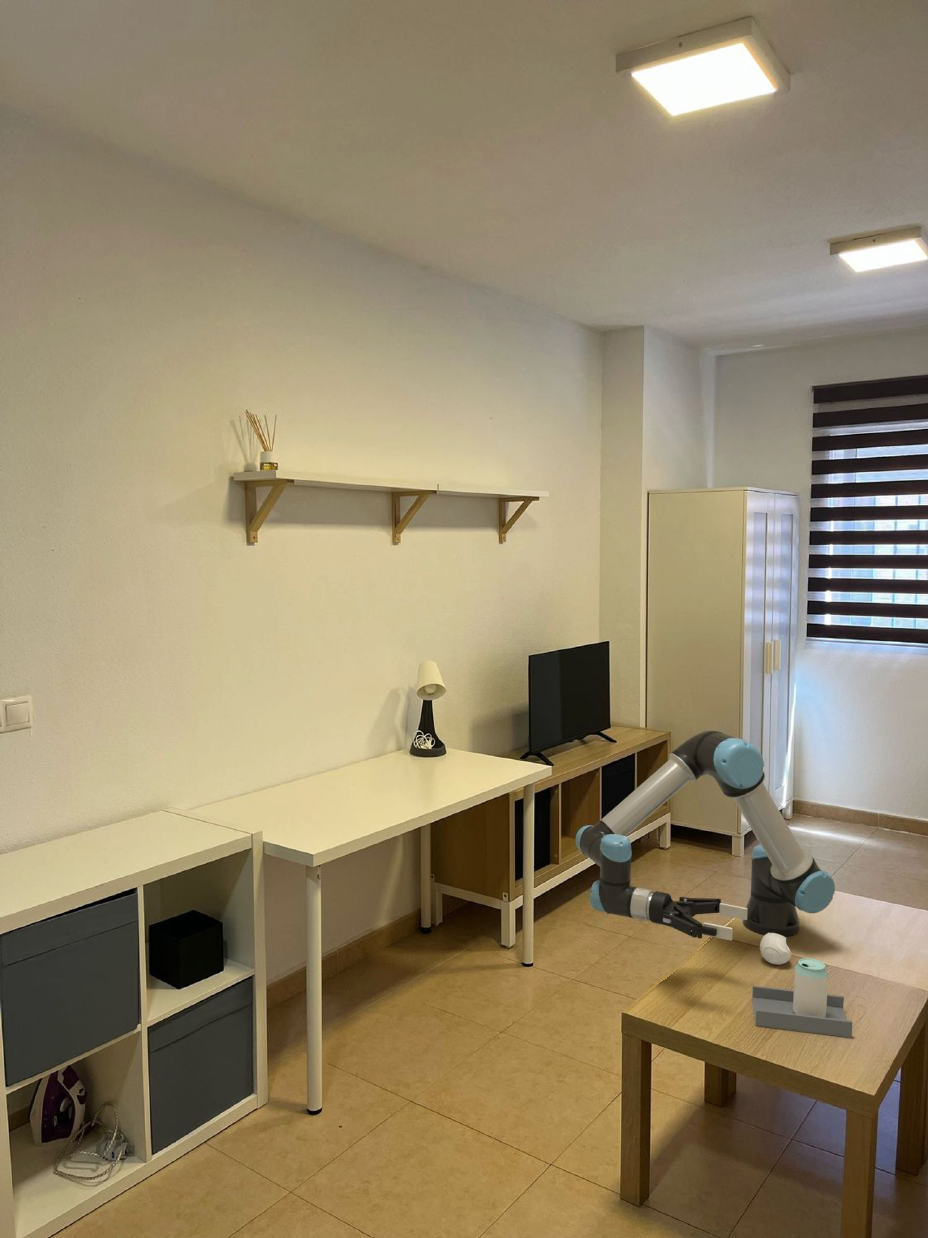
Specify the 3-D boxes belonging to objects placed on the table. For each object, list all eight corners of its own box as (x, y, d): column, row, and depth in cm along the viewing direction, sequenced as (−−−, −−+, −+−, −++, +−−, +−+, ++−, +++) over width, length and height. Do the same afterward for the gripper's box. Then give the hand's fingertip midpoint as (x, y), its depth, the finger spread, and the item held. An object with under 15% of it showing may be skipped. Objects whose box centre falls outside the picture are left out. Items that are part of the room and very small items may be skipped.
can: (817, 1026, 210) (820, 973, 209) (787, 1015, 215) (789, 963, 214) (831, 1015, 215) (833, 963, 214) (801, 1004, 220) (803, 954, 219)
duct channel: (752, 999, 224) (752, 985, 224) (842, 1010, 219) (843, 996, 219) (755, 1026, 212) (756, 1010, 211) (851, 1038, 207) (852, 1022, 207)
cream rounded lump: (793, 971, 240) (795, 941, 239) (762, 969, 240) (763, 939, 240) (786, 957, 247) (788, 928, 247) (756, 955, 248) (757, 926, 248)
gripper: (668, 904, 245) (752, 921, 234) (634, 939, 223) (724, 959, 213) (669, 876, 244) (753, 891, 233) (634, 908, 223) (725, 927, 212)
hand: (739, 924), depth 223 cm, fingers open, 13 cm apart
